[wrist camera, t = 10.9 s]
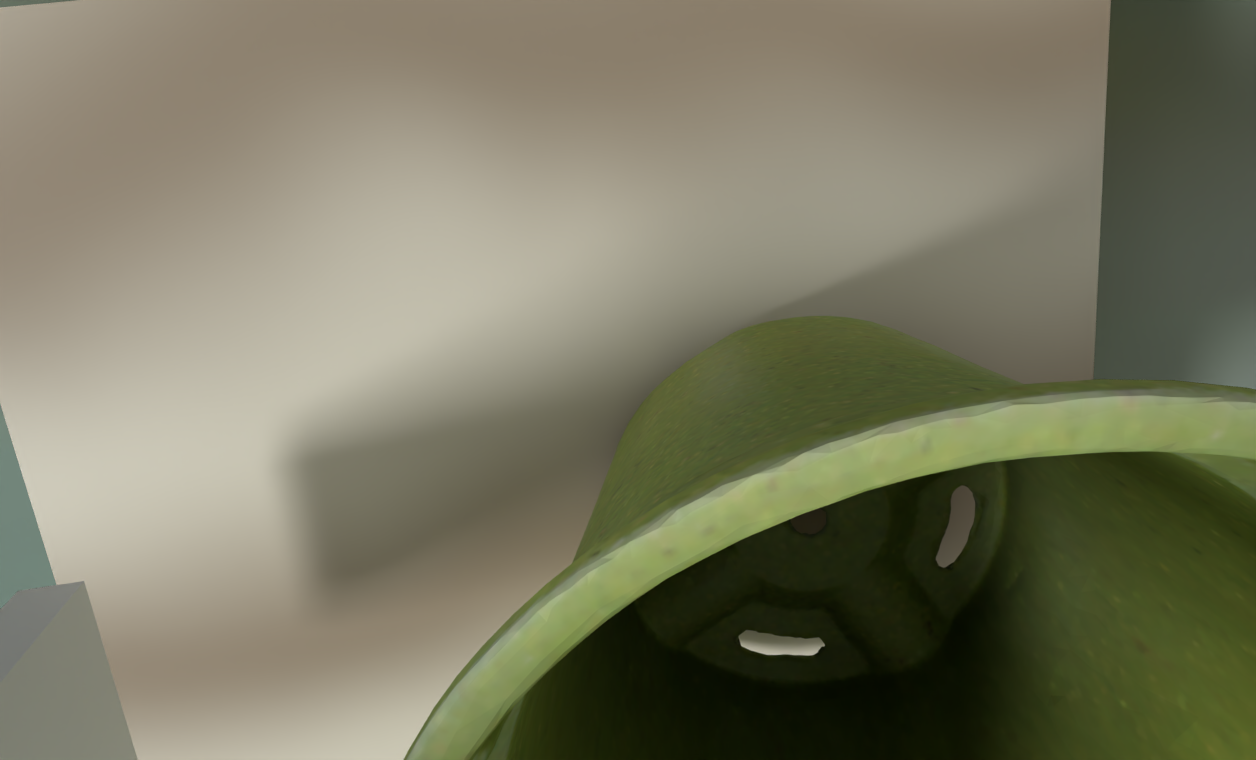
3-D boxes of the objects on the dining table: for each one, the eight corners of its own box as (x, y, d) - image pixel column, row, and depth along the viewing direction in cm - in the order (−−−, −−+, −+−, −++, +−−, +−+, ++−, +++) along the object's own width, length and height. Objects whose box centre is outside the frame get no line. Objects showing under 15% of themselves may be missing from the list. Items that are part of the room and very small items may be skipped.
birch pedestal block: (55, 38, 16) (-119, 18, 12) (950, -46, 18) (1115, -95, 13) (256, 808, 21) (189, 1015, 16) (951, 686, 23) (1072, 842, 18)
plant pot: (1189, 222, 13) (2071, 463, 5) (1046, 780, 16) (1469, 1506, 8) (518, 168, 13) (326, 326, 5) (492, 741, 16) (343, 1442, 8)
